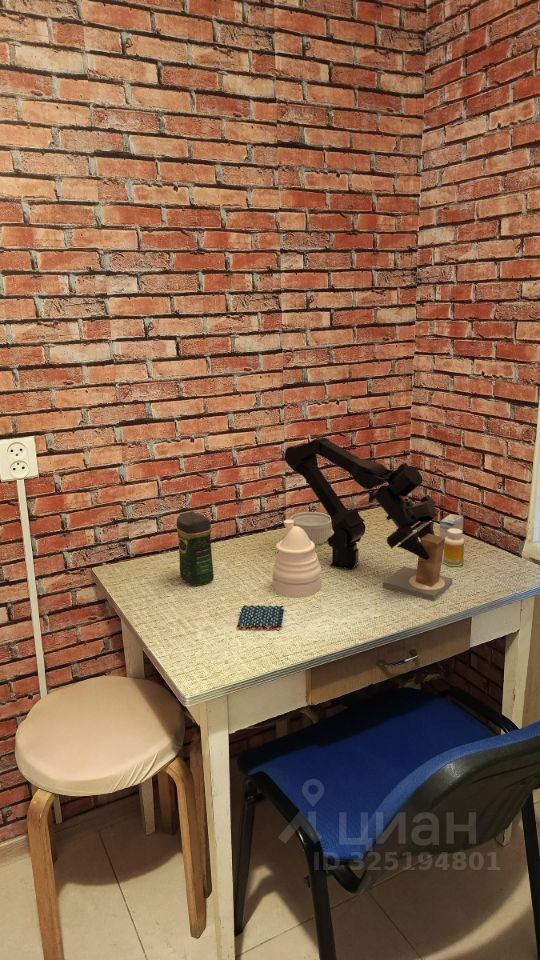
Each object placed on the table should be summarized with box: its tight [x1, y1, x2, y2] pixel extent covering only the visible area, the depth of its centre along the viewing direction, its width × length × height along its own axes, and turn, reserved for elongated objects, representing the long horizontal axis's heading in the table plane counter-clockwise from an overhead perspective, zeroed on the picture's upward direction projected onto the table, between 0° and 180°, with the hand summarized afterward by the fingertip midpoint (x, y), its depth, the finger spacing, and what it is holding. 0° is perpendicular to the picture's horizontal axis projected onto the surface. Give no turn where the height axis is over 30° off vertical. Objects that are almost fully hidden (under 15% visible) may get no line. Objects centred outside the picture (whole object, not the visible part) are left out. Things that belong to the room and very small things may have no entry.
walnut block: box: [415, 533, 445, 587], centre depth 164 cm, size 4×4×12 cm
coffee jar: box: [176, 510, 215, 586], centre depth 173 cm, size 10×8×19 cm
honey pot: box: [271, 519, 323, 598], centre depth 167 cm, size 13×13×18 cm
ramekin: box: [289, 511, 332, 546], centre depth 201 cm, size 13×13×7 cm
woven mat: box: [236, 604, 285, 632], centre depth 152 cm, size 10×11×2 cm
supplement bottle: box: [442, 528, 465, 567], centre depth 180 cm, size 5×5×10 cm
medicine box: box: [438, 513, 464, 538], centre depth 193 cm, size 8×4×9 cm, turn 144°
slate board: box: [382, 565, 453, 602], centre depth 168 cm, size 14×12×2 cm
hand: (433, 554), depth 163 cm, fingers open, 6 cm apart
